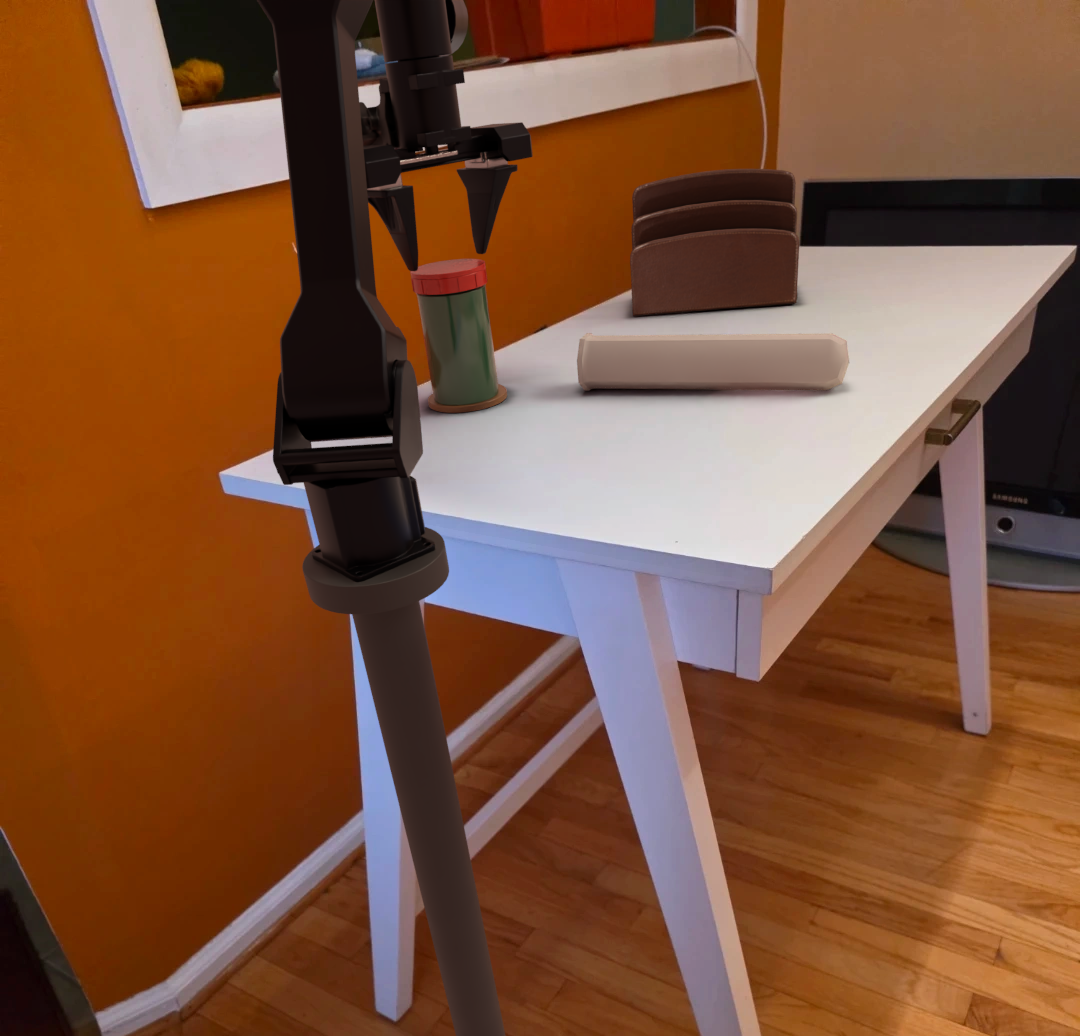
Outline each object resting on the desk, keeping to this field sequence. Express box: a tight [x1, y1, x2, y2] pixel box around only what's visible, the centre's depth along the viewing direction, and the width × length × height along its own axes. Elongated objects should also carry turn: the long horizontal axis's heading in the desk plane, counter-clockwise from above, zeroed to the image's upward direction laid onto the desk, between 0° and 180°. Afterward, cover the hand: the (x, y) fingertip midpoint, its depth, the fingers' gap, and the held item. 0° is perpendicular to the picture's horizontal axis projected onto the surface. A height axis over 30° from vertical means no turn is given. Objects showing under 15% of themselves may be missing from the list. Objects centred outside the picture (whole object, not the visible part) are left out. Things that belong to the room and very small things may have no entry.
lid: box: [409, 258, 488, 295], centre depth 89 cm, size 7×7×2 cm
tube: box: [576, 332, 850, 392], centre depth 89 cm, size 5×5×25 cm
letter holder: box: [629, 168, 800, 317], centre depth 116 cm, size 10×20×14 cm, turn 82°
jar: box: [415, 284, 499, 406], centre depth 92 cm, size 7×7×11 cm
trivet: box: [427, 383, 508, 414], centre depth 96 cm, size 8×8×1 cm
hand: (447, 262), depth 88 cm, fingers open, 8 cm apart
